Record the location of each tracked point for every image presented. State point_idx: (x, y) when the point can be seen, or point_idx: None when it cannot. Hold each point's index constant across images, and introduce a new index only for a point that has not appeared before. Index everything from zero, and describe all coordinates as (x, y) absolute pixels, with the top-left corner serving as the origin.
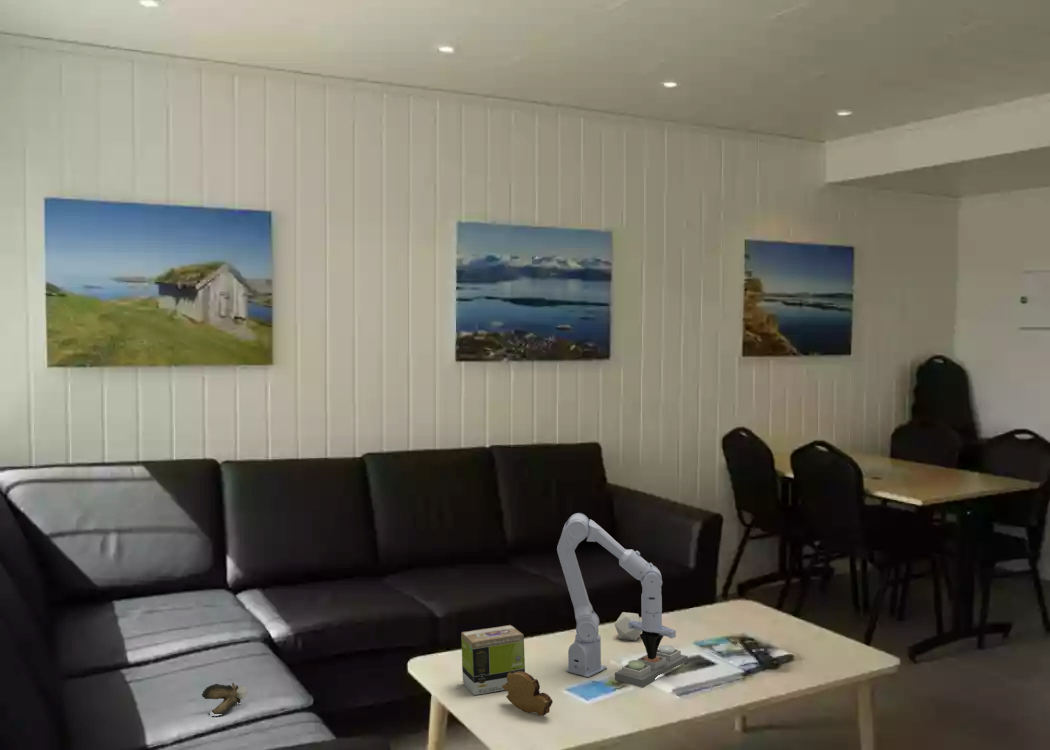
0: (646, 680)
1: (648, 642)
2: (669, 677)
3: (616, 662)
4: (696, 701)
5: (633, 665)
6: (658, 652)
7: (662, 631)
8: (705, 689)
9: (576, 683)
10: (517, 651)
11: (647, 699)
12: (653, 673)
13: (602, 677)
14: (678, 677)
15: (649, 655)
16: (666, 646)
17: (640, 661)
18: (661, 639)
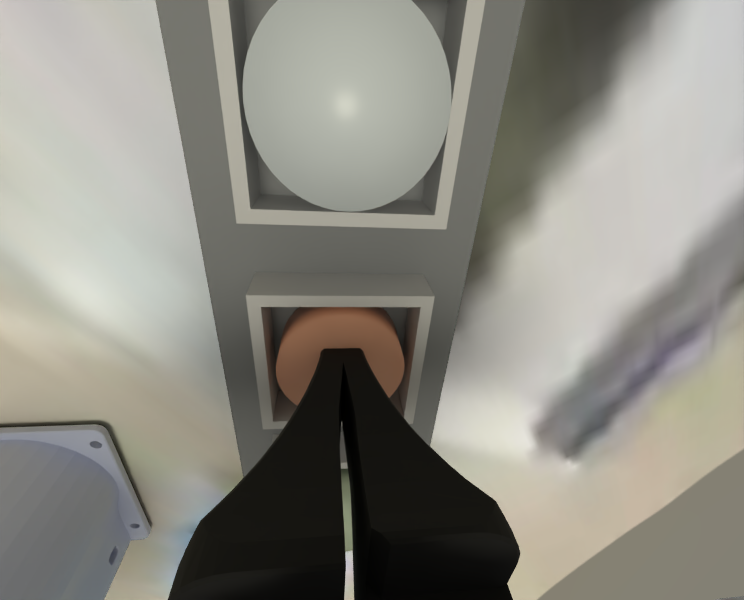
0: None
1: (354, 570)
2: (473, 332)
3: (40, 320)
4: (648, 459)
5: (347, 549)
6: (300, 212)
7: None
8: (683, 356)
9: (169, 569)
10: None
11: None
12: (426, 441)
13: (193, 496)
14: (521, 304)
15: (342, 423)
16: (323, 63)
17: (345, 502)
18: (452, 472)
